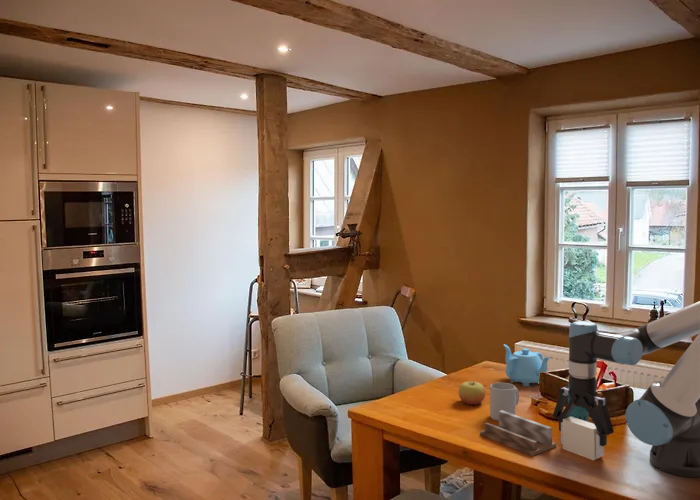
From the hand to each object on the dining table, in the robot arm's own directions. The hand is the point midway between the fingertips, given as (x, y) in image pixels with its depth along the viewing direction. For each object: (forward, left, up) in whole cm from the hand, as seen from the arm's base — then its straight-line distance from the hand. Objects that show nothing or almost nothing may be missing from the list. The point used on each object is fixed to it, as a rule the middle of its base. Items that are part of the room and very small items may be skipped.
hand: (581, 449), depth 166 cm
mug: (+33, -6, -1) cm, 34 cm away
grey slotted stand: (+17, +8, -1) cm, 19 cm away
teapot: (+54, -43, -1) cm, 69 cm away
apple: (+50, -7, -1) cm, 51 cm away
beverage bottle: (+10, -13, -1) cm, 16 cm away
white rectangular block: (0, 0, -1) cm, 1 cm away
